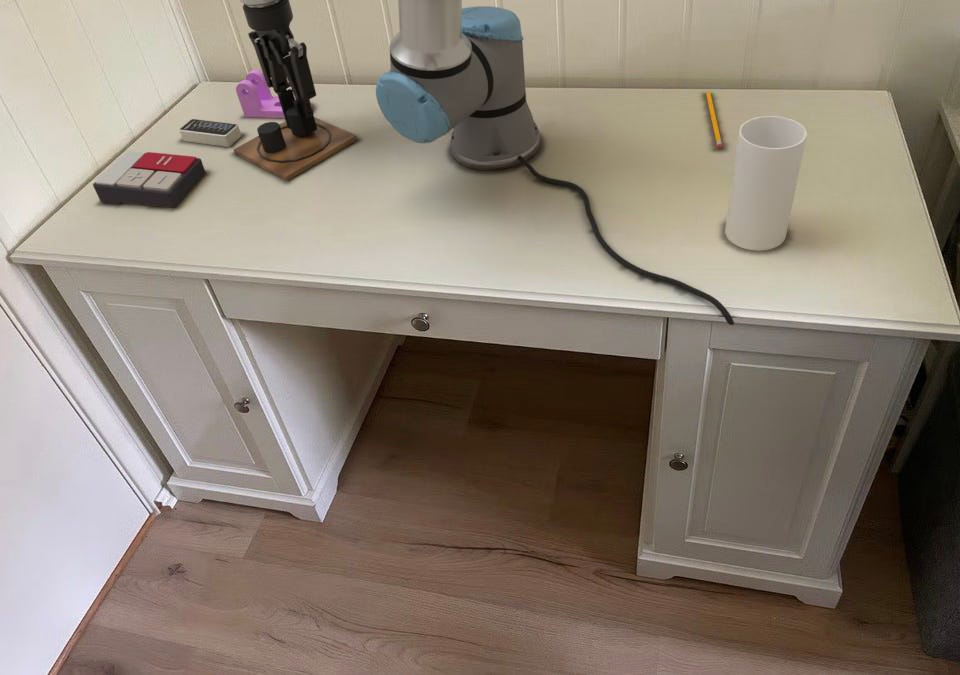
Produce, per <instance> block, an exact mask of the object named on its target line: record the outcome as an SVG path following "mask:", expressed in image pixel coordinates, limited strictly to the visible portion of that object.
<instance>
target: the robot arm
mask: <svg viewBox="0 0 960 675" xmlns="http://www.w3.org/2000/svg"><path fill="white" fill-rule="evenodd" d="M239 1H240V3H242V4H243V5H242V10H243V13H244V16H245V19H246V22H247V26H248V27H249V28H250V29H251V30H252V31H249V32H248V34H247V35H248V38H249V39H250V41H251V43H252V45H253V47H254V50H255V53H256V57H257V59H258V63H259V66H260V69H261V72H262V73H263V75H264V78H265V81H266V84H267V86H268V87H269V89H271V88H272V90H273V91H274V93H275V94H276V95H277V97H278V98H279V101H280V104H281V107H282V110H283V114H284V117H285V118H284V121H286V123H287V127H288V128H289V129H291V128H290V125H289V121H288V118H287V115H286V111H287V109H289V108H290V107H292V106H295V108H296V111H297V115H298V118H299V122H300V125H301V128H302V132H303V135H305V136H307V135H309V134H310V133H312V132H314V131H316V130H317V126H316V122H315V119H314V117H315V115H314V110H313V106H312V107H311V105H312V102H311V100H312V99H313V98H315V97H316V96H317V92H316V88H315V84H314V80H313V75H312V72H311V68H310V64H309V59H308V53H307V51H308V50H307V49H308V48H307V45H306V43H305V42H304V41H303V42H300V43H299V42H298V41H296V40H295V37H294V34H293V32H292V30H291V28H290V25H291V23H292V21H293V19H294V14H293V10H292V6H291V3H290V0H239ZM397 3H398V4H397V5H398V21H399V22H398V25H399V26H398V27H399V28H398V29H399V31H398V32H397V33H396V34H395V35H394V36H393V37H392V38H391V40H390V43H389V60H390V62H389V63H390V69H389V71H386V72H384V73H383V74H382V75H381V77H380V78H379V79H378V80H377V83H376V84H375V97H376V101H377V105H378V107H379V110H380V111H381V113H382V115H383V117H384V118H385V119H386V121H387V122H388V123H389V124H390V126H391V127H392V128H393V129H394V130H395V131H396V132H397V133H399V134H400V135H401V136H403V137H404V138H406V139H407V140H410V141H412V142H414V143H416V144H417V143H418V144H430V143H433V142H435V141H436V140H438V139H440V138H441V137H443V136H446V135H447V134H449V133H450V131H451V130H452V132H451V135H450V142H449V144H450V151H451V155H452V157H453V159H454V160H455V161H456V162H458V163H459V164H460V165H462V166H463V167H467V168H470V169H474V170H479V171H499V170H506V169H509V168H514V167H517V166H519V165H523V166H524V167H525V168H526V169H527V170H528V171H529V172H530V173H531V175H532V176H534V177H535V178H536V179H537V180H540V181H542V182H545V183H548V184H551V185H557V186H562V187H567V188H569V189H570V188H571V189H572V190H574V191H576V192H578V193H579V195H580V196H581V197H582V200H583V203H584V209H585V213H586V215H587V218H588V221H589V223H590V226H591V229H592V232H593V234H594V236H595V238H596V240H597V241H598V243H599V244H600V246H601V247H602V248H603V249H604V250H605V251H606V252H607V253H608V255H610V256H611V257H612V258H613V259H614V260H615V261H616V262H618V263H619V264H621V265H623V266H624V267H626V268H627V269H629V270H631V271H633V272H635V273H637V274H639V275H641V276H643V277H646V278H648V279H652V280H656V281H659V282H663V283H666V284H669V285H672V286H675V287H677V288H680V289H682V290H685V291H686V292H689V293H690V294H693V295H695V296H697V297H699V298H702V299H704V300H705V301H708V302H709V303H710V304H712V305H713V306H714V307H715V308H716V309H717V310H718V311H719V312H720V314H721V315H722V316H723V318H724V319H725V321H726V323H727V324H728V325H730V326H733V325H735V321H734V319H733V317H732V315H731V314H730V312H729V311H728V310H727V308H726V307H725V306H724V305H723V304H722V302H721V301H719V300H718V299H717V298H715V297H714V296H712V295H711V294H709V293H706V292H705V291H702V290H700V289H698V288H695V287H693V286H691V285H690V284H687V283H684V282H682V281H681V280H678V279H675V278H672V277H669V276H666V275H662V274H658V273H654V272H650V271H648V270H645V269H643V268H641V267H639V266H636V265H635V264H633V263H631V262H630V261H628V260H626V259H625V258H624V257H622V256H620V255H619V254H618V253H617V252H616V251H615V250H614V249H612V247H611V246H610V245H609V244H608V243H607V242H606V240H605V239H604V238H603V236H602V234H601V232H600V230H599V227H598V224H597V222H596V220H595V219H596V218H595V217H594V215H593V211H592V209H591V204H590V199H589V196H588V194H587V193H586V191H585V190H584V189H583V188H582V187H581V186H579V185H578V184H576V183H573V182H571V181H567V180H562V179H555V178H551V177H548V176H545V175H542V174H540V173H539V172H538V171H537V170H536V169H535V168H534V167H533V166H532V165H531V163H529V161H528V160H530V159H531V158H533V157H534V156H535V155H536V153H538V151H539V149H540V145H541V139H540V137H541V136H540V131H539V128H538V125H537V123H536V122H535V119H534V116H533V113H532V111H531V109H530V107H529V104H528V102H527V92H526V90H527V89H526V75H525V62H524V61H525V60H524V59H525V58H524V46H523V45H524V44H523V41H524V36H523V34H522V33H523V32H522V26H521V25H522V24H521V20H520V18H519V17H518V15H517V14H516V13H515V12H513V11H511V10H510V9H507V8H503V7H498V6H491V5H489V6H488V5H482V6H481V5H480V6H479V5H478V6H468V7H463V0H397ZM294 97H295V98H296V100H295V98H294ZM310 102H311V103H310Z"/></svg>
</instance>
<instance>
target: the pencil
mask: <svg viewBox="0 0 960 675" xmlns="http://www.w3.org/2000/svg"><path fill="white" fill-rule="evenodd" d="M705 95H706V99H707V100H706V101H707V105H708V110H709V114H710V119H711V122H712V123H711V124H712V129H713V133H714V137H715V143H716V147H717V150H722V149H723V142H722V139H721V133H720V129H719V124H718V120H717V115H716V111H715V106H714V102H713V98H712V93H711V91H707V92H706V93H705Z"/></svg>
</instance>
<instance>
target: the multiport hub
mask: <svg viewBox="0 0 960 675" xmlns="http://www.w3.org/2000/svg"><path fill="white" fill-rule="evenodd" d="M178 131H179V134H180V136H181V139H182V141H183V142H188V143H196V144H203V145H209V146H218V147H225V148H226V147H227V148H229V147H232V145H234V144H235V143H236V142H237V141H238V140H239V139H240V138H242V136H243V134H242V132H241V129H240V126H239V124H238V123H232V122H231V123H230V122H223V121H214V120H206V119H198V118H191V119H190V120H188V121H186V123H185V124H184V125H183V126H181V127H180V128H179V129H178Z"/></svg>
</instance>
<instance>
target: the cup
mask: <svg viewBox="0 0 960 675" xmlns="http://www.w3.org/2000/svg"><path fill="white" fill-rule="evenodd" d="M807 134H808V133H807V129H806V128H805V127H804V125H802V123H800V122H798V121H796V120H794V119H792V118H789V117H785V116H778V115H764V116H758V117H753V118H750V119H748V120H747V121H745V122H743V123H742V124H741V125H740V128H739V131H738V136H737V142H736V148H735V149H736V150H735V157H734V158H735V159H734V165H733V171H732V178H731V185H730V193H729V199H728V208H727V213H726V221H725V227H724V233H725V236H726V238H727V240H728V241H729V242H730V243H732V244H733V245H735V246H737V247H738V248H742V249H743V250H744V249H745V250H749V251H756V252H758V251H769V250H772V249H775V248H777V247H779V246H780V245H781V244H783V243H784V241H785V240H786V237H787V233H788V227H789V223H790V219H791V213H792V208H793V204H794V199H795V195H796V189H797V185H798V179H799V175H800V171H801V167H802V166H801V165H802V162H803V161H802V160H803V156H804V151H805V146H806V140H807Z"/></svg>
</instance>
